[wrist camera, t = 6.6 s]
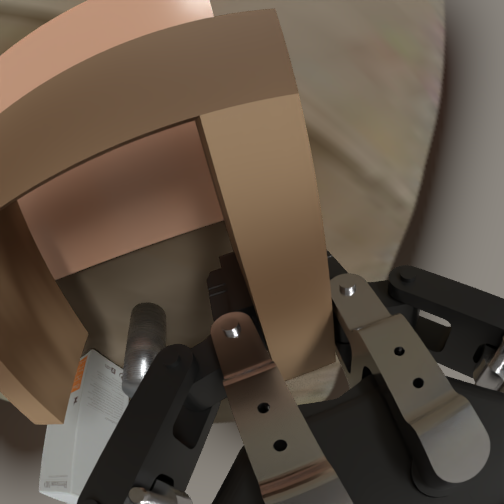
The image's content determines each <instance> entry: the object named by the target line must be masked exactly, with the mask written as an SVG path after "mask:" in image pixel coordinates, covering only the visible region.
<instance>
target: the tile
mask: <svg viewBox="0 0 504 504" xmlns="http://www.w3.org/2000/svg"><path fill="white" fill-rule="evenodd" d="M210 17H214V15H213V11H212V8H211V4H210V1H209V0H88V1H85V2H83V3H81V4H79V5H77V6H76V7H74V8H72V9H70V10H68V11H66V12H64V13H63V14H61V15H59V16H57V17H56V18H54V19H52V20H50V21H49V22H47V23H46V24H44V25H42V26H41V27H39V28H38V29H36V30H35V31H33V32H32V33H30V34H29V35H27V36H26V37H24V38H23V39H22V40H20V41H19V42H17V43H16V44H15V45H13V46H12V47H11V48H10V49H8V50H7V51H6V52H4V53H3V54H2V55H1V56H0V113H1V112H3V111H4V110H5V109H6V108H8V107H9V106H10V105H12V104H13V103H14V102H16V101H17V100H19V99H20V98H21V97H23V96H24V95H26V94H27V93H29V92H30V91H32V90H33V89H35V88H36V87H38V86H39V85H41V84H43V83H44V82H46V81H48V80H49V79H51V78H53V77H54V76H56V75H58V74H59V73H61V72H63V71H65V70H67V69H69V68H70V67H72V66H74V65H76V64H78V63H80V62H82V61H84V60H86V59H88V58H90V57H92V56H94V55H96V54H99V53H101V52H103V51H105V50H108V49H110V48H112V47H115V46H117V45H120V44H122V43H125V42H127V41H130V40H133V39H135V38H138V37H141V36H144V35H147V34H150V33H153V32H156V31H159V30H162V29H166V28H169V27H173V26H176V25H180V24H184V23H188V22H192V21H196V20H200V19H205V18H210ZM17 201H18V204H19V206H20V209H21V211H22V214H23V216H24V219H25V221H26V223H27V226H28V228H29V230H30V232H31V234H32V237H33V239H34V241H35V243H36V245H37V247H38V249H39V251H40V253H41V255H42V257H43V259H44V261H45V263H46V265H47V267H48V269H49V270H50V272H51V274H52V276H53V278H54V279H55V280H57V279H60V278H62V277H65V276H67V275H70V274H72V273H75V272H78V271H80V270H83V269H85V268H88V267H91V266H93V265H96V264H99V263H101V262H104V261H107V260H109V259H112V258H115V257H117V256H120V255H123V254H126V253H128V252H131V251H134V250H137V249H140V248H142V247H145V246H148V245H151V244H154V243H157V242H160V241H162V240H165V239H168V238H171V237H174V236H177V235H180V234H183V233H186V232H189V231H192V230H195V229H198V228H201V227H204V226H207V225H210V224H213V223H216V222H219V221H223V220H224V219H223V215H222V212H221V209H220V205H219V202H218V199H217V195H216V192H215V189H214V185H213V182H212V178H211V175H210V172H209V168H208V165H207V161H206V158H205V154H204V151H203V148H202V144H201V141H200V137H199V134H198V130H197V127H196V123H195V121H192V122H189V123H186V124H182V125H179V126H176V127H173V128H170V129H167V130H164V131H161V132H159V133H156V134H153V135H150V136H148V137H145V138H142V139H140V140H137V141H134V142H132V143H129V144H127V145H124V146H122V147H120V148H117V149H115V150H112V151H110V152H108V153H105V154H103V155H101V156H99V157H97V158H94V159H92V160H90V161H88V162H86V163H84V164H82V165H80V166H78V167H75V168H73V169H71V170H70V171H68V172H66V173H64V174H62V175H60V176H58V177H56V178H54V179H52V180H50V181H49V182H47V183H45V184H43V185H42V186H40V187H38V188H36V189H35V190H33V191H31V192H29V193H28V194H26V195H24V196H23V197H21V198H20V199H18V200H17Z"/></svg>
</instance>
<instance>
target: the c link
mask: <svg viewBox="0 0 504 504" xmlns="http://www.w3.org/2000/svg"><path fill="white" fill-rule="evenodd" d="M192 121H195V123H196V127H197V130H198V134H199V137H200V141H201V144H202V148H203V151H204V154H205V158H206V161H207V165H208V168H209V172H210V175H211V178H212V182H213V185H214V189H215V192H216V195H217V199H218V202H219V205H220V209H221V212H222V215H223V219H224V222H225V225H226V228H227V232H228V235H229V238H230V242H231V245H232V248H233V251H234V252H235V255H236V258H237V260H238V263H239V266H240V269H241V272H242V274H243V277H244V280H245V283H246V286H247V288H248V291H249V294H250V297H251V299H252V302H253V305H254V308H255V311H256V315H257V318H258V321H259V324H260V328H261V331H262V334H263V337H264V340H265V344H266V347H267V351H268V354H269V356H270V358H271V360H272V361H274V362H275V364H276V365H277V367H278V369H279V371H280V373H281V375H282V377H283V379H284V381H287V380H290V379H293V378H295V377H298V376H301V375H304V374H306V373H309V372H312V371H314V370H317V369H319V368H322V367H324V366H327V365H329V364H332V363H334V362H336V358H335V339H334V324H333V310H332V299H331V288H330V278H329V268H328V259H327V251H326V243H325V235H324V228H323V220H322V214H321V207H320V200H319V194H318V188H317V182H316V176H315V170H314V165H313V159H312V154H311V149H310V144H309V139H308V134H307V129H306V124H305V119H304V115H303V110H302V106H301V102H300V97H299V93H298V89H297V85H296V81H295V77H294V73H293V69H292V65H291V61H290V58H289V54H288V50H287V47H286V43H285V40H284V36H283V33H282V29H281V26H280V23H279V20H278V16H277V13H276V10H275V9H263V10H254V11H246V12H239V13H232V14H226V15H220V16H215V17H210V18H205V19H200V20H196V21H192V22H188V23H184V24H180V25H176V26H173V27H169V28H166V29H162V30H159V31H156V32H153V33H150V34H147V35H144V36H141V37H138V38H135V39H133V40H130V41H127V42H125V43H122V44H120V45H117V46H115V47H112V48H110V49H108V50H105V51H103V52H101V53H99V54H96V55H94V56H92V57H90V58H88V59H86V60H84V61H82V62H80V63H78V64H76V65H74V66H72V67H70V68H69V69H67V70H65V71H63V72H61V73H59V74H58V75H56V76H54V77H53V78H51V79H49V80H48V81H46V82H44V83H43V84H41V85H39V86H38V87H36V88H35V89H33V90H32V91H30V92H29V93H27V94H26V95H24V96H23V97H21V98H20V99H19V100H17V101H16V102H14V103H13V104H12V105H10V106H9V107H8V108H6V109H5V110H4V111H3V112H1V113H0V392H1V393H2V394H3V395H4V396H5V397H6V398H7V399H8V400H9V401H10V402H11V403H12V404H13V405H14V406H15V407H17V408H18V409H19V410H20V411H21V412H22V413H23V414H24V415H25V416H26V417H28V418H29V419H30V420H31V421H32V422H33V423H34V424H64V420H65V416H66V411H67V407H68V402H69V398H70V394H71V390H72V386H73V383H74V379H75V375H76V372H77V368H78V365H79V362H80V358H81V355H82V352H83V349H84V346H85V343H86V339H87V336H88V334H89V333H88V332H87V330H86V329H85V327H84V326H83V325H82V323H81V322H80V320H79V319H78V317H77V316H76V314H75V313H74V311H73V309H72V308H71V306H70V305H69V303H68V301H67V300H66V298H65V297H64V295H63V293H62V292H61V290H60V288H59V286H58V285H57V283H56V281H55V279H54V278H53V276H52V274H51V272H50V270H49V269H48V267H47V265H46V263H45V261H44V259H43V257H42V255H41V253H40V251H39V249H38V247H37V245H36V243H35V241H34V239H33V237H32V234H31V232H30V230H29V228H28V226H27V223H26V221H25V219H24V216H23V214H22V211H21V209H20V206H19V204H18V201H17V200H18V199H20V198H21V197H23V196H24V195H26V194H28V193H29V192H31V191H33V190H35V189H36V188H38V187H40V186H42V185H43V184H45V183H47V182H49V181H50V180H52V179H54V178H56V177H58V176H60V175H62V174H64V173H66V172H68V171H70V170H71V169H73V168H75V167H78V166H80V165H82V164H84V163H86V162H88V161H90V160H92V159H94V158H97V157H99V156H101V155H103V154H105V153H108V152H110V151H112V150H115V149H117V148H120V147H122V146H124V145H127V144H129V143H132V142H134V141H137V140H140V139H142V138H145V137H148V136H150V135H153V134H156V133H159V132H161V131H164V130H167V129H170V128H173V127H176V126H179V125H182V124H186V123H189V122H192Z"/></svg>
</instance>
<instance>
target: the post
mask: <svg viewBox="0 0 504 504" xmlns="http://www.w3.org/2000/svg"><path fill="white" fill-rule="evenodd" d="M164 348H166V314H165V312H164V310H163V309H162V308H161V307H159V306H158V305H156V304H153V303H141V304H138V305H136V306H135V307H134V308H133V310H132V313H131V318H130V325H129V331H128V337H127V344H126V352H125V359H124V368H123V377H122V391H123V392H124V393H125V394H126V395H127V396H128V397H130V398H132V397H133V395H134V393H135V392H136V390H137V388H138V386H139V384H140V383H141V381H142V379H143V377H144V376H145V374H146V372H147V370H148V369H149V367H150V365H151V364H152V362H153V360H154V358H155V357H156V355H157V354H158V353H159V352H160V351H161V350H162V349H164Z"/></svg>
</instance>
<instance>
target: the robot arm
mask: <svg viewBox="0 0 504 504" xmlns="http://www.w3.org/2000/svg"><path fill="white" fill-rule="evenodd" d="M326 251H327V249H326ZM219 259H220V263H221V267H222V268H221V269H218V270H215V271H212V272H210V274H209V276H208V279H207V285H208V291H209V296H210V303H211V309H212V314H213V320H214V323H213V324H212V326H211V330H210V333H211V334H210V335H209V336H208V337H207V339H205V340H204V341H203V342H201V343H200V344H198V345H196V346H195V347H193V348H191V349H190V348H189V347H187V346H185V345H182V344H174V345H170V346H168V347H166V348H164V349H162V350H161V351H160V352H159V353H158V354H157V355H156V357H155V358H154V360H153V362H152V364H151V365H150V367H149V369H148V370H147V372H146V374H145V376H144V377H143V379H142V381H141V383H140V384H139V386H138V388H137V390H136V392H135V393H134V395H133V397H132V399H131V400H130V402H129V404H128V406H127V408H126V409H125V411H124V413H123V415H122V417H121V418H120V420H119V422H118V424H117V426H116V427H115V429H114V431H113V433H112V435H111V437H110V438H109V440H108V442H107V444H106V446H105V448H104V450H103V452H102V453H101V455H100V457H99V459H98V461H97V463H96V465H95V467H94V469H93V471H92V472H91V474H90V476H89V478H88V480H87V482H86V484H85V486H84V488H83V490H82V492H81V494H80V496H79V498H78V501H77V504H193V503H192V500H191V498H190V497H189V496H188V494H186V493H185V490H186V487H187V485H188V483H189V480H190V478H191V475H192V473H193V470H194V468H195V466H196V463H197V461H198V458H199V456H200V454H201V451H202V448H203V446H204V444H205V441H206V439H207V436H208V434H209V431H210V428H211V426H212V424H213V421H214V419H215V416H216V414H217V411H218V409H219V406H220V402H221V400H223V399H224V398H226V397H227V398H228V401H229V404H230V407H231V410H232V413H233V415H234V418H235V421H236V424H237V427H238V430H239V432H240V435H241V438H242V441H243V444H244V446H243V447H242V449H241V450H240V452H239V453H238V455H237V458H236V459H235V461H234V463H233V465H232V467H231V469H230V471H229V473H228V475H227V476H226V478H225V480H224V482H223V484H222V486H221V488H220V490H219V491H218V493H217V495H216V497H215V499H214V501H213V502H212V504H504V299H503V298H500V297H498V296H495V295H492V294H490V293H487V292H484V291H482V290H479V289H476V288H473V287H471V286H468V285H465V284H462V283H460V282H457V281H454V280H451V279H448V278H445V277H442V276H440V275H437V274H434V273H431V272H428V271H425V270H422V269H419V268H416V267H413V266H399V267H396V268H394V269H393V270H392V271H391V272H390V274H389V280H385V281H378V282H366V280H365V279H364V278H363V277H361V276H359V275H356V274H350V273H347V271H346V270H345V269H344V268H343V267H342V266H341V265H340V264H339V262H338V261H337V260H336V259H335V258H334V257H333V256H332V255H331V254H330V253H329V251H327V259H328V268H329V278H330V288H331V299H332V310H333V324H334V339H335V352H336V355H337V357H338V359H339V361H340V364H341V366H342V368H343V370H344V373H345V375H346V377H347V380H348V383H349V389H350V390H349V391H347V392H346V393H344V394H343V395H342V396H340V397H339V398H337V399H334V400H328V401H322V402H316V403H309V404H302V405H298V406H297V404H296V402H295V400H294V398H293V396H292V394H291V392H290V391H289V389H288V387H287V385H286V383H285V381H284V379H283V377H282V375H281V373H280V371H279V369H278V367H277V365H276V364H275V362H274V361H272V360H271V358H270V356H269V354H268V352H267V347H266V344H265V340H264V337H263V334H262V331H261V328H260V324H259V321H258V318H257V315H256V311H255V308H254V305H253V302H252V299H251V297H250V294H249V291H248V288H247V286H246V283H245V280H244V277H243V274H242V272H241V269H240V266H239V263H238V260H237V258H236V255H235V252H232V253H229V254H226V255H223V256H220V257H219ZM420 310H423V311H425V312H428V313H430V314H433V315H435V316H438V317H440V318H443V319H445V320H447V321H448V322H449V323H450V324H451V327H446V326H444V325H441V324H438V323H436V322H434V321H431V320H429V319H426V318H424V317H421V316H419V312H420ZM436 362H437V363H440V364H442V365H444V366H446V367H448V368H451V369H453V370H455V371H458V372H460V373H462V374H465V375H467V376H469V377H471V378H474V381H475V384H471V383H467V382H464V381H461V380H457V379H454V378H451V377H448V376H445V375H444V373H443V372H442V370H441V369H440V367H439V366H438V364H437V363H436Z"/></svg>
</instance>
